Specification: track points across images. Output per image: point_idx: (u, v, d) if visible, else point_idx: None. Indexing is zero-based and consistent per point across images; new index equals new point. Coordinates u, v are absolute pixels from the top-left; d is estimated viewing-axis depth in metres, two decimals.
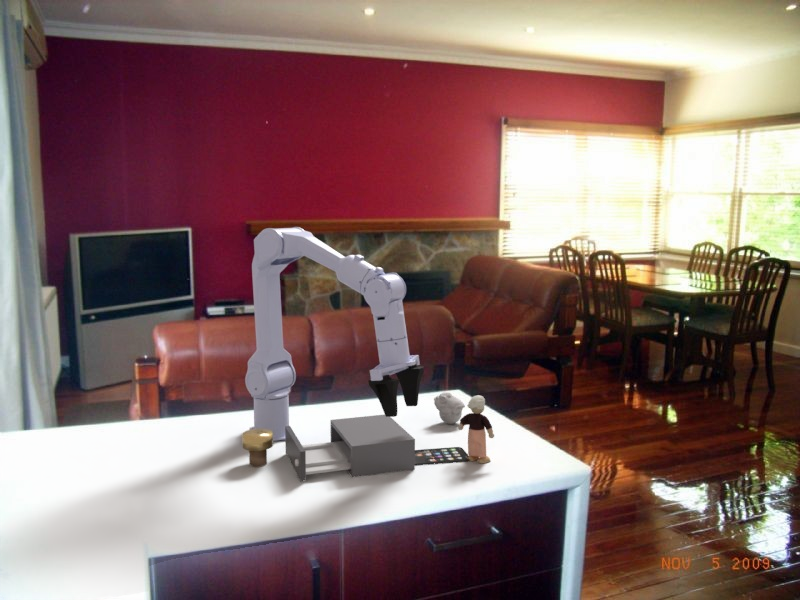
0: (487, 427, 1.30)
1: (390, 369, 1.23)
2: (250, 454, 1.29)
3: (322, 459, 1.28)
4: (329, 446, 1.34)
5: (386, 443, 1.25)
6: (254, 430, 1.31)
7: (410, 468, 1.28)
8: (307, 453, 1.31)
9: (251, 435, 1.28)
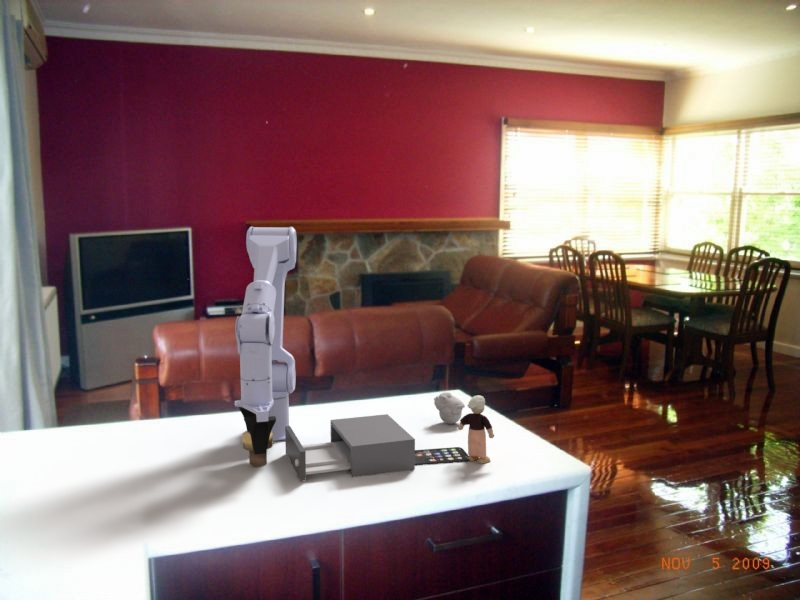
0: (487, 427, 1.30)
1: None
2: (250, 454, 1.29)
3: (322, 459, 1.28)
4: (329, 446, 1.34)
5: (386, 443, 1.25)
6: None
7: (410, 468, 1.28)
8: (307, 453, 1.31)
9: None
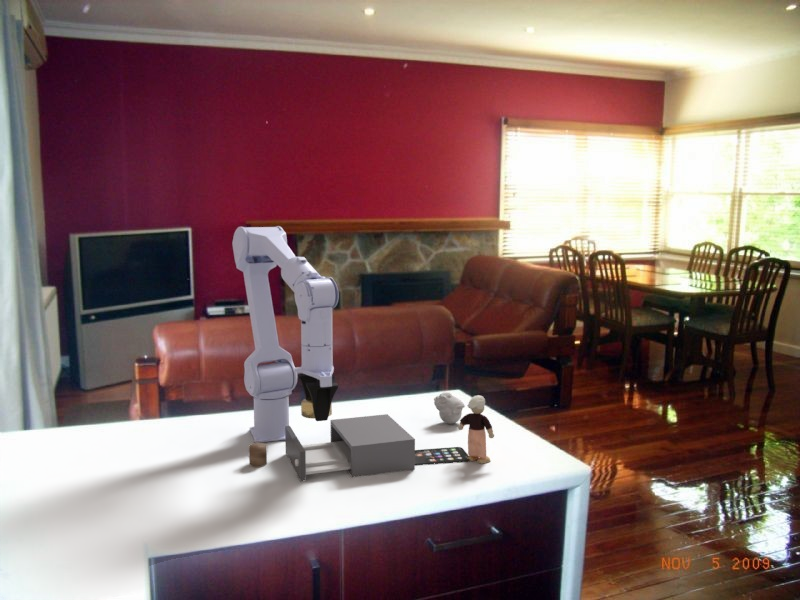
0: (487, 427, 1.30)
1: None
2: (250, 454, 1.29)
3: (322, 459, 1.28)
4: (329, 446, 1.34)
5: (386, 443, 1.25)
6: None
7: (410, 468, 1.28)
8: (307, 453, 1.31)
9: (311, 403, 1.27)
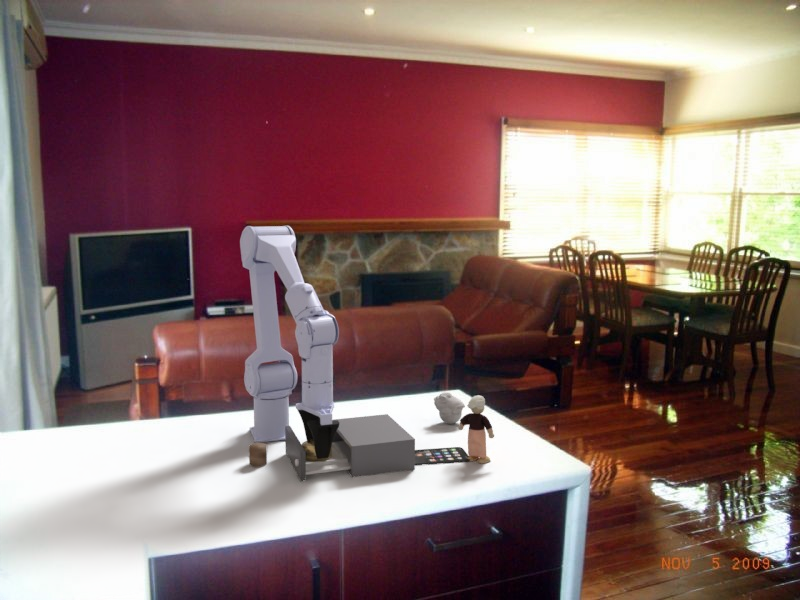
0: (487, 427, 1.30)
1: None
2: (250, 454, 1.29)
3: None
4: None
5: (386, 443, 1.25)
6: (313, 440, 1.31)
7: (410, 468, 1.28)
8: None
9: (311, 446, 1.28)
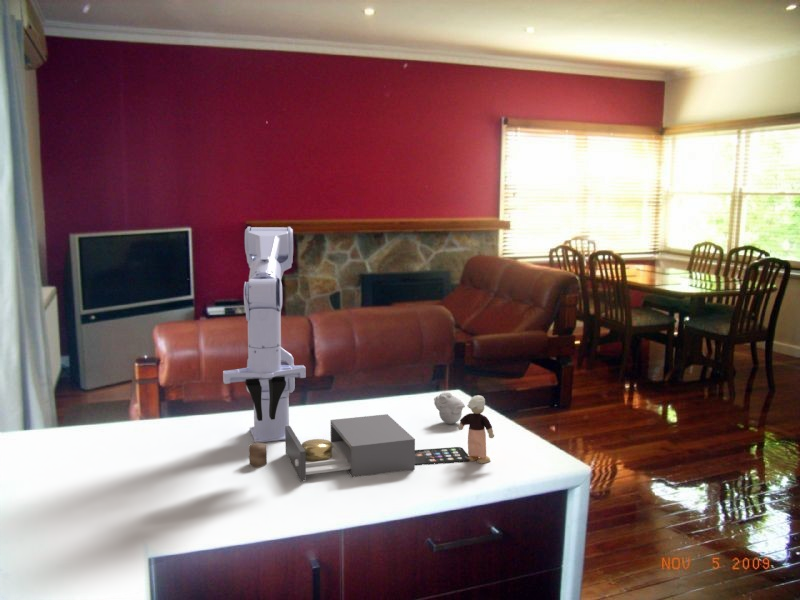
0: (487, 427, 1.30)
1: (240, 375, 1.21)
2: (250, 454, 1.29)
3: None
4: None
5: (386, 443, 1.25)
6: (313, 440, 1.31)
7: (410, 468, 1.28)
8: None
9: (311, 446, 1.28)
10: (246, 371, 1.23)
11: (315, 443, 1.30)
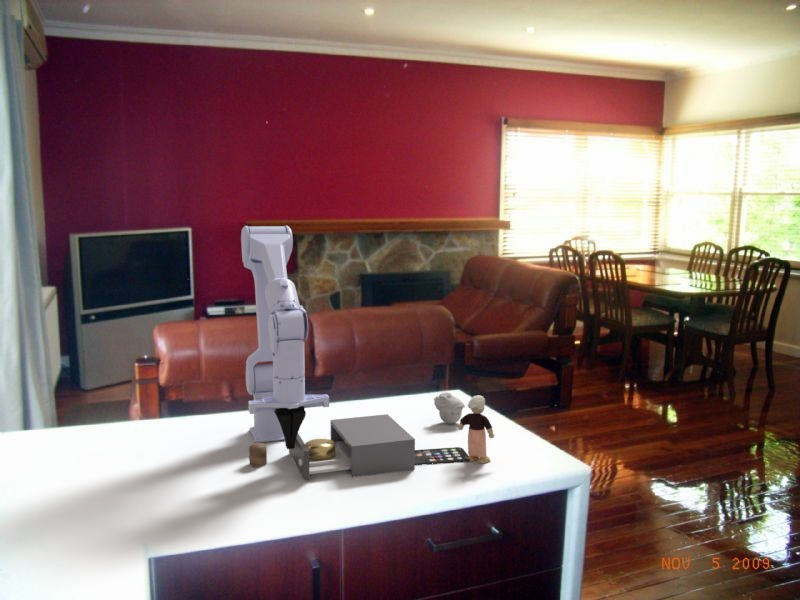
0: (487, 427, 1.30)
1: (266, 406, 1.23)
2: (250, 454, 1.29)
3: None
4: None
5: (386, 443, 1.25)
6: (316, 440, 1.31)
7: (410, 468, 1.28)
8: None
9: (314, 445, 1.28)
10: (271, 401, 1.25)
11: (318, 443, 1.30)
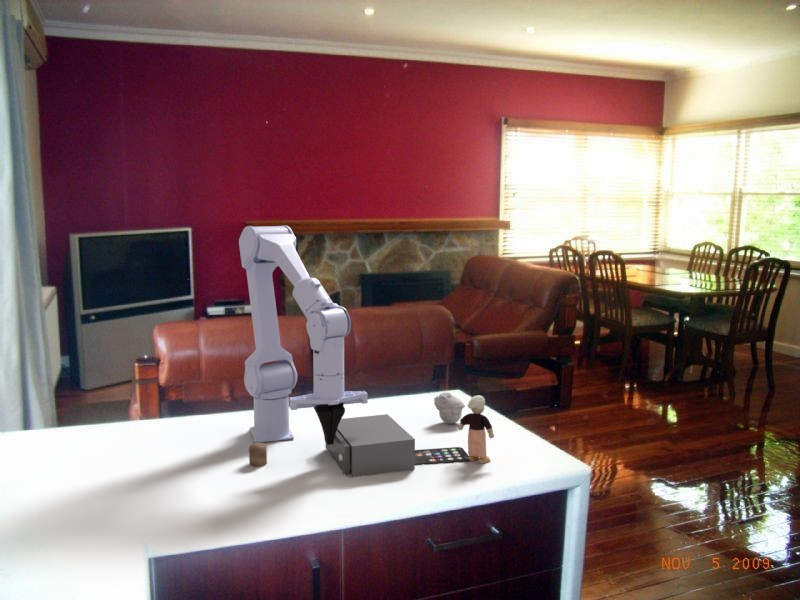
0: (487, 427, 1.30)
1: (307, 402, 1.26)
2: (250, 454, 1.29)
3: None
4: None
5: (386, 443, 1.25)
6: None
7: (410, 468, 1.28)
8: None
9: None
10: (311, 397, 1.28)
11: None
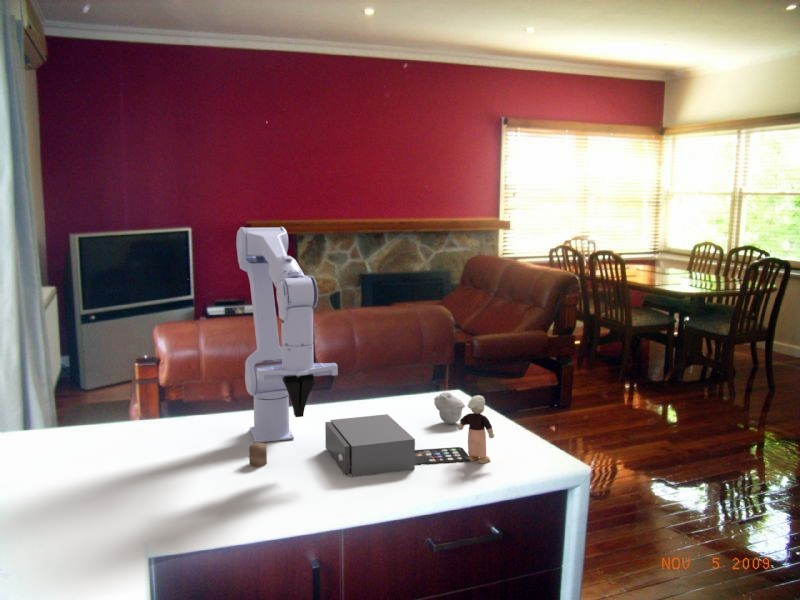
0: (487, 427, 1.30)
1: (275, 373, 1.23)
2: (250, 454, 1.29)
3: None
4: None
5: (386, 443, 1.25)
6: None
7: (410, 468, 1.28)
8: None
9: None
10: (280, 369, 1.25)
11: None
